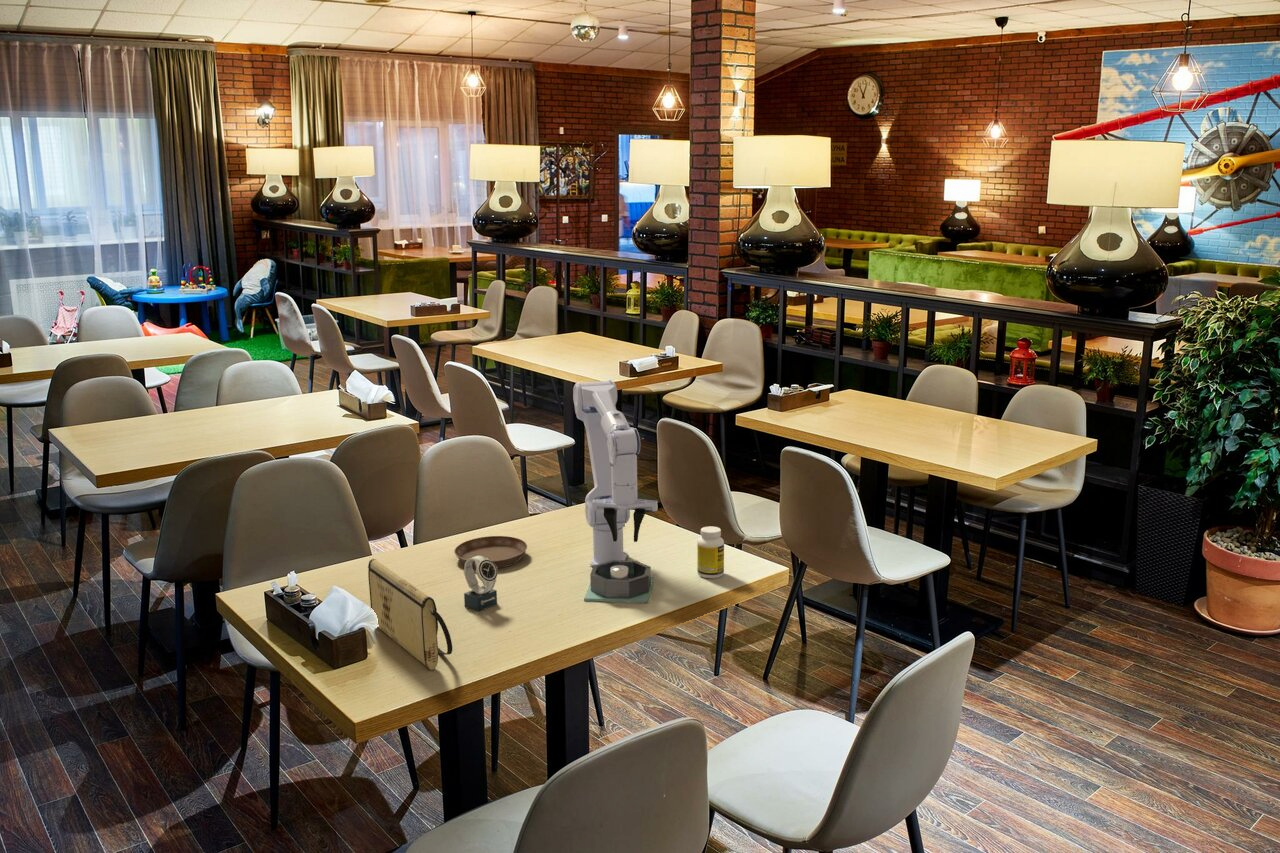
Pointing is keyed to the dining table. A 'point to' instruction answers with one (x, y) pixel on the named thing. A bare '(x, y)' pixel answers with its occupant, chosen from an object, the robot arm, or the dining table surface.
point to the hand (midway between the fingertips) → (625, 540)
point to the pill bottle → (710, 553)
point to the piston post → (619, 572)
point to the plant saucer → (492, 550)
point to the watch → (487, 574)
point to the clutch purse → (406, 614)
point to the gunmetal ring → (621, 588)
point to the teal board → (595, 597)
